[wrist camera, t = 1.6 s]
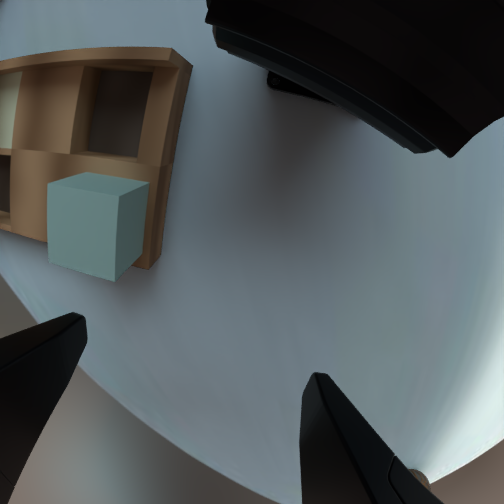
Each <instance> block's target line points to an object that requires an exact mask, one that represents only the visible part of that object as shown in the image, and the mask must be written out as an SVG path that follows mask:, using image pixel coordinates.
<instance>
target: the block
mask: <svg viewBox="0 0 504 504" xmlns="http://www.w3.org/2000/svg"><path fill="white" fill-rule="evenodd" d="M149 184H150V183H149V182H144V181H138V180H132V179H126V178H120V177H114V176H108V175H102V174H96V173H89V172H85V173H81V174H77V175H74V176H71V177H67V178H64V179H60V180H57V181H54V182H51V183H48V187H47V239H48V259H49V262H50V263H53V264H56V265H59V266H62V267H65V268H69V269H72V270H75V271H78V272H82V273H85V274H88V275H92V276H95V277H99V278H102V279H106V280H109V281H113V282H115V281H116V280H117V279H118V278H119V277H120V276H121V275H122V274H123V273H124V272H125V271H126V270H127V269H128V268H129V267H130V266H131V265H132V264H133V263H134V262H135V261H136V260H137V259H138V258H139V257H140V256H141V254H142V251H143V238H144V228H145V218H146V209H147V200H148V192H149Z"/></svg>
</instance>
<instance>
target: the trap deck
mask: <svg viewBox="0 0 504 504" xmlns="http://www.w3.org/2000/svg"><path fill="white" fill-rule="evenodd" d="M192 68H193V65H191V64H190V63H189V62H188V61H187V60H186V59H184V58H183V57H182V56H181V55H180V54H178V53H177V52H176V51H175V50H174V49H172V48H164V47H101V48H85V49H73V50H63V51H55V52H47V53H40V54H34V55H28V56H22V57H17V58H12V59H7V60H3V61H0V229H3V230H6V231H10V232H13V233H16V234H19V235H23V236H26V237H29V238H33V239H36V240H40V241H43V242H47V243H48V239H47V187H48V183H51V182H54V181H57V180H60V179H64V178H67V177H71V176H74V175H77V174H81V173H85V172H89V173H96V174H102V175H108V176H114V177H120V178H126V179H132V180H138V181H144V182H149V183H150V184H149V192H148V200H147V209H146V218H145V228H144V238H143V251H142V254H141V256H140V257H139V258H138V259H137V260H136V261H135V262H134V263H133V264H132V265H131V266H135V267H139V268H143V269H147V270H149V269H150V267H151V266H152V265H153V264H154V263H155V261H156V260H157V259H158V258H159V257H160V255H161V247H162V238H163V230H164V222H165V214H166V206H167V199H168V192H169V185H170V179H171V173H172V166H173V160H174V154H175V149H176V143H177V138H178V132H179V127H180V122H181V117H182V112H183V107H184V103H185V98H186V93H187V89H188V85H189V80H190V76H191V72H192Z"/></svg>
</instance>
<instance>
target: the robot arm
mask: <svg viewBox="0 0 504 504" xmlns="http://www.w3.org/2000/svg"><path fill="white" fill-rule="evenodd" d="M206 3H207V8H208V12H207V15H206V18H205V22H206V23H207V24H210V25H213V30H212V32H213V35H214V39H215V42H216V45H217V47H218V48H221V49H223V50H226V51H227V52H228V53H229V54H232V55H234V56H237V57H239V58H242V59H244V60H246V61H249V62H251V63H254V64H256V65H258V66H261V67H263V68H265V69H267V70H269V73H268V77H267V85H268V86H269V87H270V88H271V89H273V90H277V91H282V92H286V93H291V94H295V95H299V96H303V97H307V98H311V99H314V100H318V101H322V102H325V103H329V104H332V105H336V106H339V107H341V108H343V109H345V110H346V111H348V112H350V113H351V114H353V115H355V116H356V117H358V118H359V119H361V120H363V121H364V122H366V123H367V124H369V125H371V126H372V127H374V128H375V129H377V130H378V131H380V132H381V133H383V134H384V135H386V136H387V137H389V138H390V139H392V140H393V141H395V142H396V143H398V144H399V145H400V146H402V147H403V148H407V149H409V150H410V151H411V152H413V153H414V154H417V153H426V152H430V151H434V150H436V149H439V150H440V151H441V152H442V153H443V154H445V155H446V156H447V157H448V158H452V157H453V156H454V155H455V154H456V153H457V152H458V151H459V150H460V149H461V148H462V147H463V146H464V145H465V144H466V143H467V142H468V141H469V140H470V139H471V138H472V137H473V136H475V135H476V134H477V133H479V132H480V131H482V130H483V129H484V128H486V127H487V126H488V125H490V124H491V123H493V122H494V121H496V120H498V119H500V118H502V117H504V0H206ZM274 78H276V79H278V80H279V84H277V85H273V84H272V83H271V80H272V79H274ZM86 344H87V328H86V319H85V317H84V316H83V315H80V314H78V313H75V312H71V313H68V314H65V315H63V316H60V317H57V318H55V319H52V320H49V321H46V322H44V323H41V324H38V325H36V326H33V327H30V328H27V329H25V330H22V331H19V332H17V333H14V334H11V335H9V336H6V337H3V338H0V504H8V502H9V499H10V497H11V495H12V492H13V490H14V488H15V487H14V486H15V485H16V483H17V481H18V479H19V476H20V474H21V472H22V470H23V468H24V466H25V464H26V461H27V460H28V457H29V456H30V453H31V452H32V450H33V447H34V446H35V443H36V442H37V440H38V438H39V436H40V434H41V432H42V430H43V428H44V426H45V425H46V423H47V421H48V419H49V417H50V415H51V414H52V412H53V410H54V408H55V406H56V405H57V403H58V401H59V399H60V398H61V396H62V394H63V392H64V390H65V389H66V387H67V385H68V383H69V381H70V379H71V377H72V375H73V372H74V370H75V368H76V366H77V364H78V361H79V359H80V357H81V355H82V353H83V351H84V348H85V346H86ZM299 448H300V466H301V486H302V504H444V503H443V502H441V500H439V499H438V498H437V497H436V496H435V495H434V494H432V492H431V491H430V490H428V489H427V488H426V487H425V486H424V485H423V484H422V483H421V482H420V481H419V480H418V479H417V478H416V477H415V476H414V475H413V474H412V473H411V472H410V471H409V470H408V468H407V467H406V466H405V465H404V464H403V463H402V462H401V461H400V459H399V458H398V457H397V456H394V455H395V454H394V453H393V451H392V450H391V449H390V448H389V447H388V446H387V444H386V443H385V442H384V441H383V440H382V438H381V437H380V436H379V435H378V434H377V433H376V431H375V430H374V429H373V428H372V427H371V425H370V424H369V423H368V422H367V421H366V420H365V418H364V417H363V416H362V415H361V414H360V412H359V411H358V410H357V409H356V408H355V406H354V405H353V404H352V403H351V402H350V400H349V399H348V398H347V397H346V396H345V394H344V393H343V392H342V391H341V390H340V388H339V387H338V386H337V385H336V384H335V382H334V381H333V380H332V379H331V378H330V376H329V375H328V374H325V373H318V372H314V373H313V374H312V375H311V377H310V379H309V381H308V383H307V385H306V387H305V389H304V392H303V395H302V407H301V424H300V439H299Z"/></svg>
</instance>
